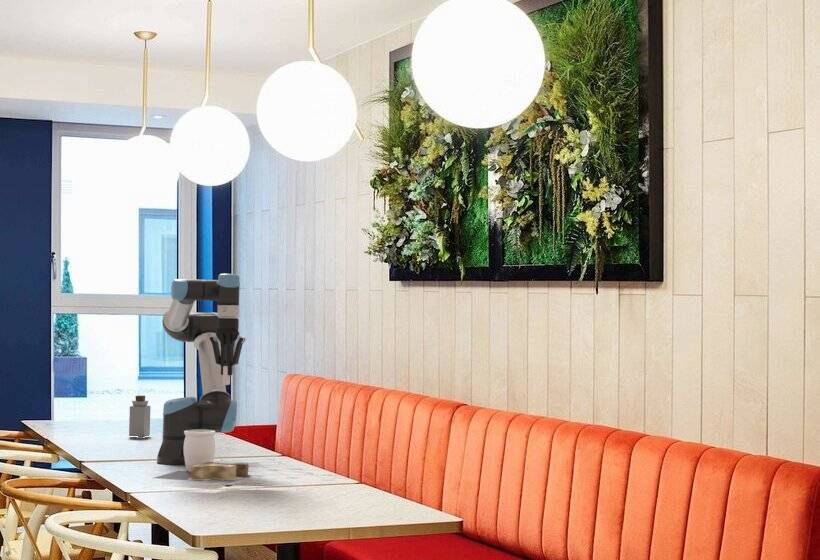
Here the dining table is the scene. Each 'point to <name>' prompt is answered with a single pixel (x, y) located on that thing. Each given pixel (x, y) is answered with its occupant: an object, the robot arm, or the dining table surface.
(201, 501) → the dining table surface
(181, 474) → the mat
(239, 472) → the walnut cube
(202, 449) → the jar
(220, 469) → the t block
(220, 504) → the dining table surface
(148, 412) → the perfume bottle
